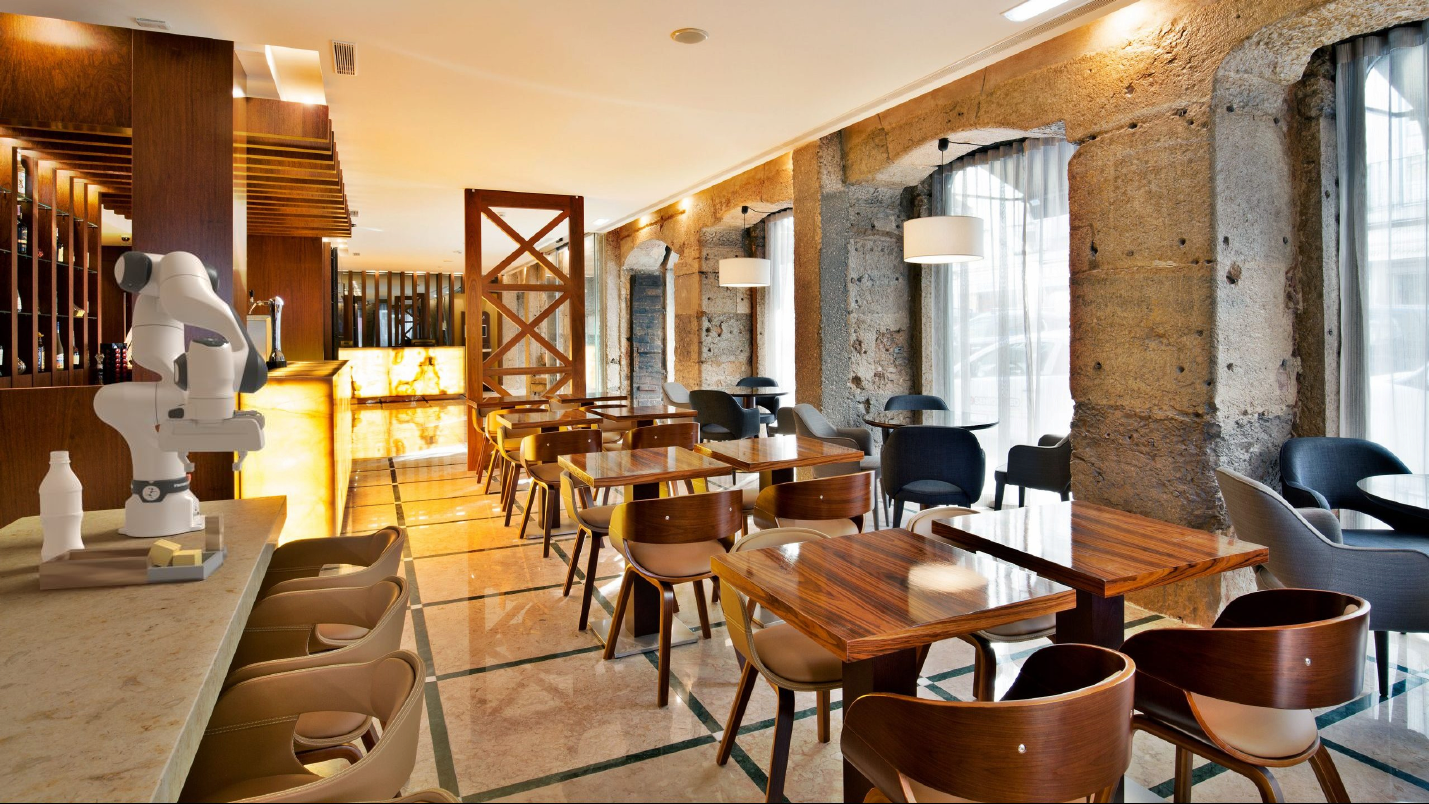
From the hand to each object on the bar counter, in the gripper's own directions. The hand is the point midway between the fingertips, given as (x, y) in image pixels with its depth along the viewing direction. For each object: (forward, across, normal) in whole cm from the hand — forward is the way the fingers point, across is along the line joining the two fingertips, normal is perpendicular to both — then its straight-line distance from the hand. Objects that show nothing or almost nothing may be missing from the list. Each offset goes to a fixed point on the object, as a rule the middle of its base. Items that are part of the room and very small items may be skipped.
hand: (213, 471), depth 170 cm
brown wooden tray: (+20, +16, +11) cm, 28 cm away
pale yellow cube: (+18, +2, +10) cm, 21 cm away
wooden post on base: (+20, 0, +1) cm, 21 cm away
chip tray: (+20, +2, +11) cm, 23 cm away
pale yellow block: (+15, +6, +11) cm, 20 cm away
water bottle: (+21, +30, -2) cm, 36 cm away
